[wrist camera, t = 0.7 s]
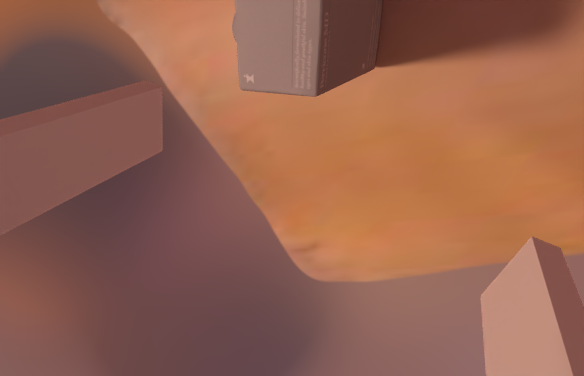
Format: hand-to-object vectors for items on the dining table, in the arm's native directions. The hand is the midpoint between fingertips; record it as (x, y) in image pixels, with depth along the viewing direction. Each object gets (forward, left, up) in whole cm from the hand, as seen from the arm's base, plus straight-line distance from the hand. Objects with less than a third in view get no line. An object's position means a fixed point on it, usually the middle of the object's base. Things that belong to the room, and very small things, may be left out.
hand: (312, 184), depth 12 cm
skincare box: (-5, -6, -27) cm, 28 cm away
